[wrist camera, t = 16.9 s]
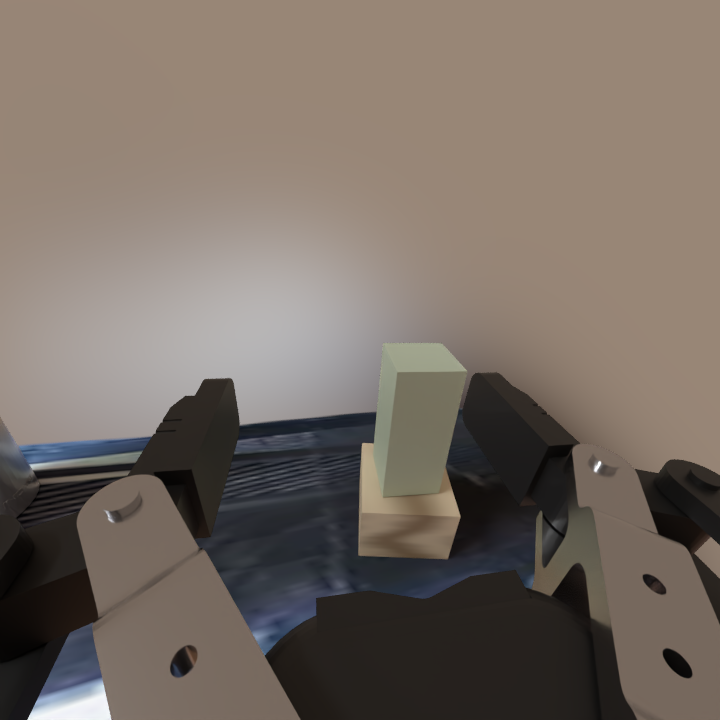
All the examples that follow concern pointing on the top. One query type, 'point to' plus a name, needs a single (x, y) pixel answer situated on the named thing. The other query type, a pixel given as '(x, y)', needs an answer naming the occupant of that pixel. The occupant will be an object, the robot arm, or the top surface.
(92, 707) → the top surface
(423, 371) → the sage block
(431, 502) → the birch base block
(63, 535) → the robot arm
